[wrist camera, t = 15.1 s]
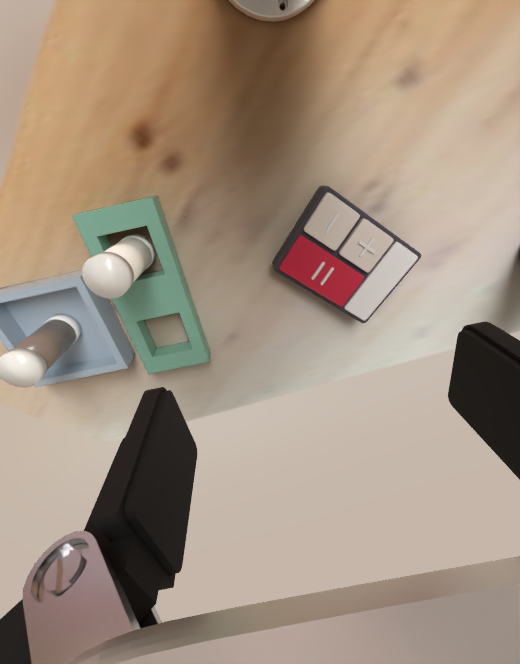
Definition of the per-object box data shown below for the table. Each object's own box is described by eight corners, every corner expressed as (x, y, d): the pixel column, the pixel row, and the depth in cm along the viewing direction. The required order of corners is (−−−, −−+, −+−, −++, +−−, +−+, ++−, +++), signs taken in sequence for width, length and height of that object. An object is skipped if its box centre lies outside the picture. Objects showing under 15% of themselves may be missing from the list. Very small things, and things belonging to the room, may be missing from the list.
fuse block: (82, 212, 34) (71, 215, 32) (157, 195, 33) (151, 197, 31) (152, 364, 44) (148, 374, 42) (210, 352, 44) (208, 361, 42)
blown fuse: (42, 317, 39) (-15, 360, 30) (72, 310, 39) (24, 351, 30) (59, 343, 41) (11, 390, 32) (87, 337, 41) (47, 383, 32)
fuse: (115, 236, 35) (74, 259, 27) (149, 231, 35) (119, 252, 27) (127, 270, 37) (93, 301, 29) (160, 265, 37) (135, 295, 29)
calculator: (327, 184, 31) (426, 256, 35) (319, 183, 35) (409, 249, 39) (272, 271, 35) (366, 327, 39) (270, 262, 39) (356, 314, 43)
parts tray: (-8, 290, 37) (-30, 300, 34) (92, 268, 37) (79, 276, 34) (49, 372, 44) (35, 387, 41) (135, 354, 43) (127, 368, 40)
